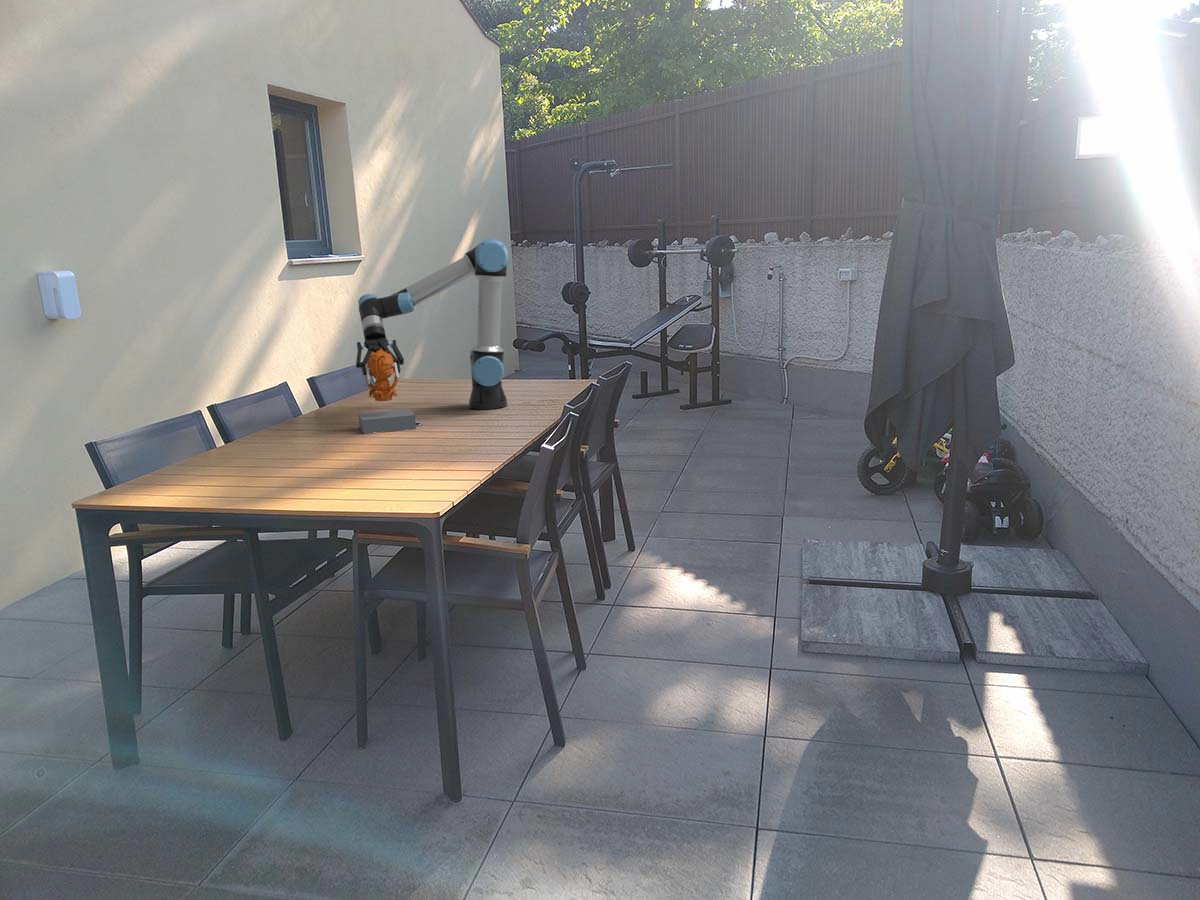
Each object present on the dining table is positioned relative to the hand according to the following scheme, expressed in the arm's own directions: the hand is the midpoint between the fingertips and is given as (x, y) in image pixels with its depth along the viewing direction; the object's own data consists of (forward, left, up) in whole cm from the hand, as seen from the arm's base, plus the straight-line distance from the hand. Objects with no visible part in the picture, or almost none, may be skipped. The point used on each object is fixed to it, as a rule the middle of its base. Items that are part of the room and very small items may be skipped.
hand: (383, 380), depth 315 cm
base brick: (0, -3, -18) cm, 18 cm away
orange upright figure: (0, -3, -8) cm, 8 cm away
